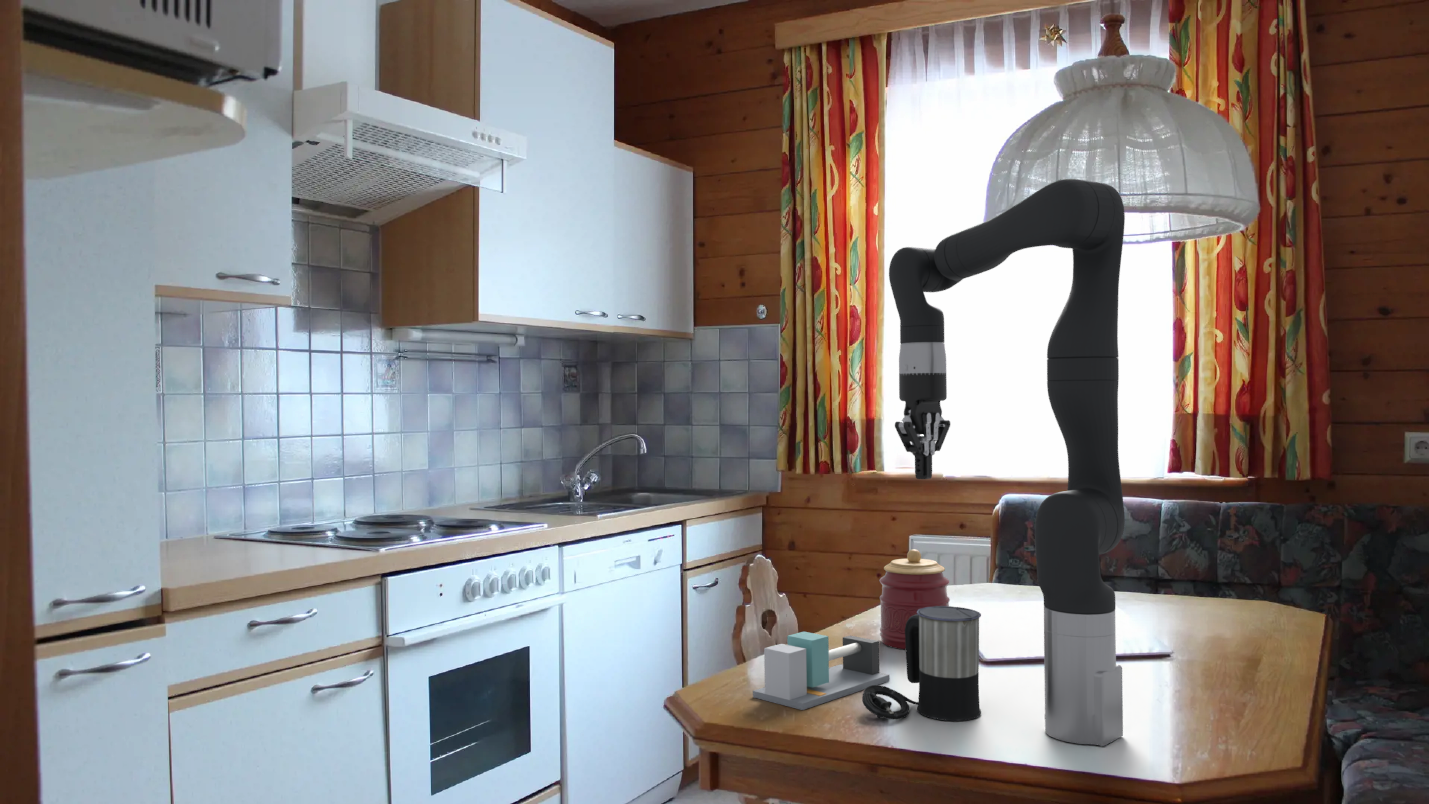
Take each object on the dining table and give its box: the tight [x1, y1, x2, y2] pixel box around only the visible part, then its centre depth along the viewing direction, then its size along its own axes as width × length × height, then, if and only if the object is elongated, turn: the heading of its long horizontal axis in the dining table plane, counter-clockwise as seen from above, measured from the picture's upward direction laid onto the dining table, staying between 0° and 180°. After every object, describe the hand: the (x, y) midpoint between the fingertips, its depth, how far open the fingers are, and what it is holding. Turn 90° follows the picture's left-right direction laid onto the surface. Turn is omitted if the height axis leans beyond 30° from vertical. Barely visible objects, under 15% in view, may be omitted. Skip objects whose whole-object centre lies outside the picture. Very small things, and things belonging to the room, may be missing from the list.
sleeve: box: [786, 631, 830, 687], centre depth 164 cm, size 5×4×7 cm
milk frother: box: [861, 605, 982, 722], centre depth 153 cm, size 14×16×15 cm
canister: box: [879, 548, 951, 650], centre depth 197 cm, size 13×13×18 cm
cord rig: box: [752, 635, 891, 711], centre depth 166 cm, size 10×22×8 cm, turn 135°
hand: (923, 478), depth 169 cm, fingers closed
